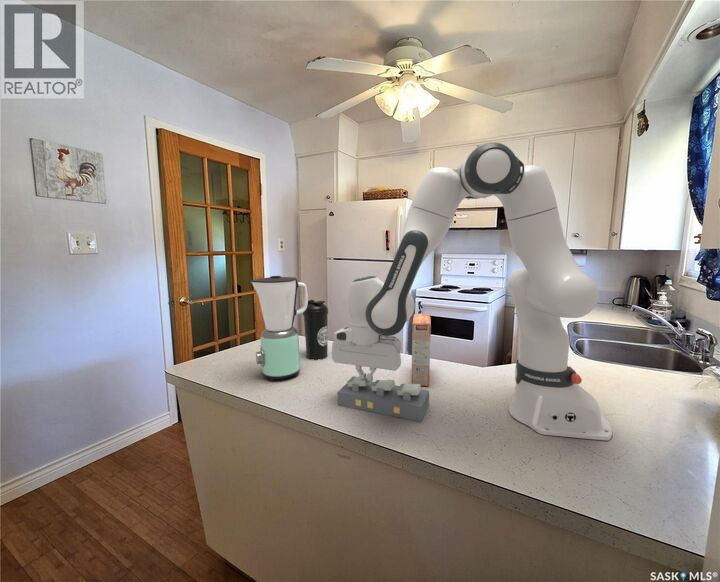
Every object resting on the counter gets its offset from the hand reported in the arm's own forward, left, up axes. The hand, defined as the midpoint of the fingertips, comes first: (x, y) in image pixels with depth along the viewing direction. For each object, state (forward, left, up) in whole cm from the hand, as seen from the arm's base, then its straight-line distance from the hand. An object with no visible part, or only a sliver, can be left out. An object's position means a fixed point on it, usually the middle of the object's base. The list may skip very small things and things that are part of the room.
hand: (365, 380), depth 94 cm
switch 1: (+2, 0, -1) cm, 2 cm away
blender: (+35, -8, -7) cm, 36 cm away
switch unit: (-5, 0, -7) cm, 8 cm away
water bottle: (+33, -28, -7) cm, 44 cm away
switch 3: (-13, 0, -1) cm, 13 cm away
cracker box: (-11, -22, -7) cm, 26 cm away
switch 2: (-5, 0, -1) cm, 5 cm away
